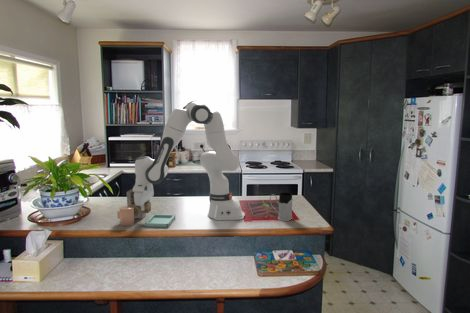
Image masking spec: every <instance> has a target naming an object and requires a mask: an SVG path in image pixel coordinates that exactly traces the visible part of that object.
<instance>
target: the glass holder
mask: <svg viewBox="0 0 470 313" xmlns="http://www.w3.org/2000/svg"><path fill="white" fill-rule="evenodd" d="M278 195H279V196H278V198H277V195H276V194H270V196H269V203H270V206H271V207H272V208H273V210H275V212H276V213H277V214H278V216H277V219H278V220H279V221H282V222H290V221H289V220H291V219H292V220H293V193H291V192H280V193H279V194H278ZM272 196H274V197H275V200H276V203H278V210H277V209H276V208H275V207H274V206H273V203H272V201H271V200H272V199H271V197H272ZM292 220H291V221H292Z"/></svg>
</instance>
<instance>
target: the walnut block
mask: <svg viewBox="0 0 470 313" xmlns="http://www.w3.org/2000/svg"><path fill="white" fill-rule="evenodd" d="M144 207H145V210H144V211H142V210H141V207H140V206H139V213H146V214H149V213H150V212H151V211H152V203H151V201H150V202H145V203H144Z"/></svg>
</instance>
